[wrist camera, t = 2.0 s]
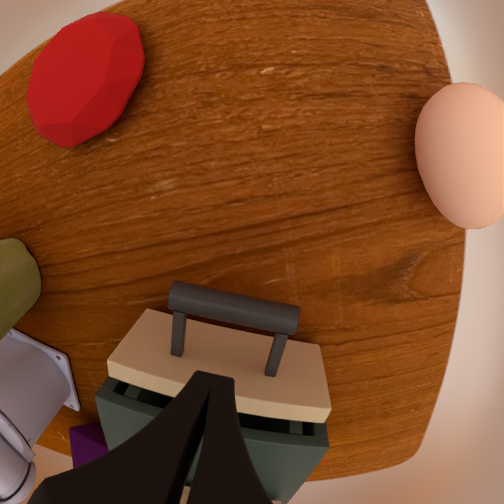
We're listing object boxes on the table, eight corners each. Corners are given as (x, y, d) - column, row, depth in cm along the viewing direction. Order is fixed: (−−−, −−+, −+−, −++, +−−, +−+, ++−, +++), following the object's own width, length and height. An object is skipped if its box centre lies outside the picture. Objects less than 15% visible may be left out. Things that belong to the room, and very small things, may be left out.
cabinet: (143, 325, 20) (93, 395, 13) (316, 362, 20) (329, 447, 13) (147, 433, 24) (123, 491, 17) (272, 460, 24) (269, 523, 17)
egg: (544, 91, 6) (537, 252, 9) (490, 103, 12) (486, 219, 15) (430, 56, 8) (428, 241, 11) (401, 86, 14) (401, 210, 17)
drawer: (150, 247, 17) (101, 286, 12) (339, 286, 17) (365, 342, 11) (149, 422, 22) (128, 471, 17) (274, 450, 22) (272, 502, 17)
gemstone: (109, 166, 16) (81, 167, 13) (29, 121, 16) (2, 119, 13) (178, 38, 14) (161, 18, 11) (84, 14, 13) (61, 0, 10)
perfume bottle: (83, 437, 26) (25, 542, 9) (82, 407, 24) (6, 531, 7) (138, 465, 27) (93, 579, 10) (146, 439, 25) (89, 579, 7)
